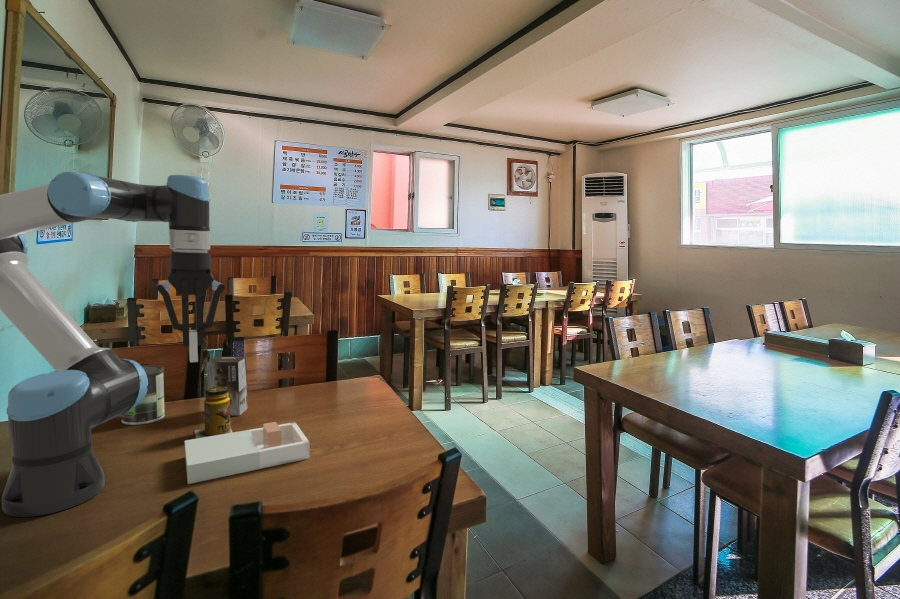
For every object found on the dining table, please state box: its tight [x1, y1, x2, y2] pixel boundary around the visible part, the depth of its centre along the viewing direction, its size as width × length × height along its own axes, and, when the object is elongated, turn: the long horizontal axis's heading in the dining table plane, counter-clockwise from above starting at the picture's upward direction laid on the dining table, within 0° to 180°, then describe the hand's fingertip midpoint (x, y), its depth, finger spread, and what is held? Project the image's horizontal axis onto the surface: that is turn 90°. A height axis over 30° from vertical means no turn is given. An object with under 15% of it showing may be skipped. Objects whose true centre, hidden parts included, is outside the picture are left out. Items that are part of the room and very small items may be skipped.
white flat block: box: [184, 429, 261, 485], centre depth 104 cm, size 14×14×4 cm
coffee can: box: [121, 364, 166, 426], centre depth 128 cm, size 10×10×14 cm
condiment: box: [194, 386, 233, 439], centre depth 120 cm, size 7×8×12 cm
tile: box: [262, 421, 281, 449], centre depth 110 cm, size 6×6×3 cm
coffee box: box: [206, 356, 248, 416], centre depth 135 cm, size 9×6×16 cm
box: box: [249, 421, 311, 470], centre depth 111 cm, size 11×14×4 cm
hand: (193, 360), depth 99 cm, fingers closed
